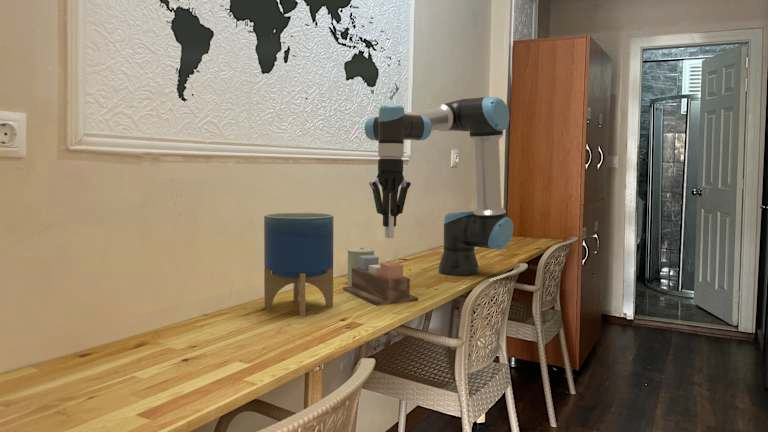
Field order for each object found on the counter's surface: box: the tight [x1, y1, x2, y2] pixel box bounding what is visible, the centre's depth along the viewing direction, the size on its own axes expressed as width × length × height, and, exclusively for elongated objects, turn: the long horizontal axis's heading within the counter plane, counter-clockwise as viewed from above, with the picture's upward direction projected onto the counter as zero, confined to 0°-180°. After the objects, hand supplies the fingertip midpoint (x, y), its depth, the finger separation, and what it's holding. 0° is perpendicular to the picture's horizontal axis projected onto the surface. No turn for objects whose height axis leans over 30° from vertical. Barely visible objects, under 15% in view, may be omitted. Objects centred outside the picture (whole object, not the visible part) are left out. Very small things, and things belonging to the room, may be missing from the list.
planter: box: [263, 211, 334, 317], centre depth 173 cm, size 19×19×26 cm
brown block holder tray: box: [342, 267, 419, 306], centre depth 191 cm, size 14×24×7 cm, turn 27°
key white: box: [369, 263, 380, 275], centre depth 191 cm, size 5×5×6 cm
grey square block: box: [358, 255, 380, 271], centre depth 198 cm, size 5×5×6 cm
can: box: [346, 247, 375, 286], centre depth 210 cm, size 9×9×12 cm
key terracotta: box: [379, 261, 404, 280], centre depth 184 cm, size 5×5×6 cm
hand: (389, 237), depth 184 cm, fingers closed
